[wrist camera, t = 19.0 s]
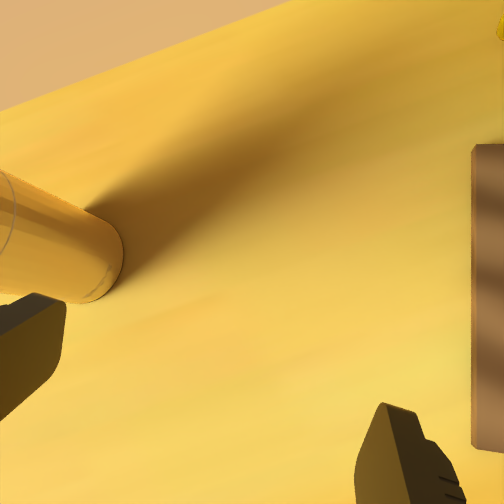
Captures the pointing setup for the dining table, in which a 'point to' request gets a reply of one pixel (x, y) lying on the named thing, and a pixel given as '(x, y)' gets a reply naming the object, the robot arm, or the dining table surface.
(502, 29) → the mug
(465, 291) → the dining table surface
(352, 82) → the dining table surface
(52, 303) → the robot arm
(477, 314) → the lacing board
